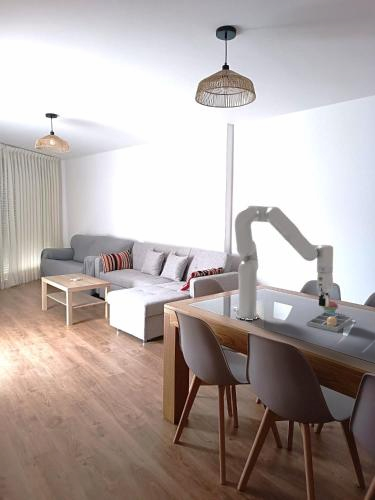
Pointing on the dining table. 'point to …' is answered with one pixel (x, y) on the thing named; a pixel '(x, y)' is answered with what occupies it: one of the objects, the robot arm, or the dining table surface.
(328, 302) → the cream egg
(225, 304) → the dining table surface
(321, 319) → the egg tray
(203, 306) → the dining table surface
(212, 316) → the dining table surface
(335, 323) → the brown egg
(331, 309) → the cupcake
